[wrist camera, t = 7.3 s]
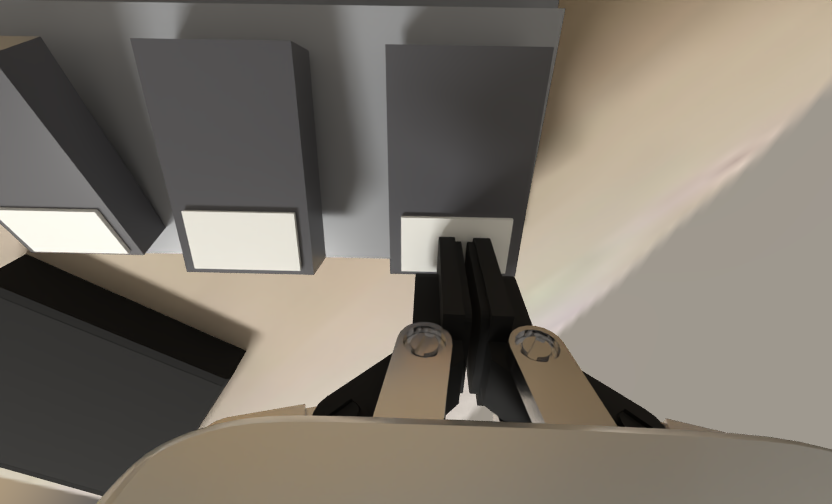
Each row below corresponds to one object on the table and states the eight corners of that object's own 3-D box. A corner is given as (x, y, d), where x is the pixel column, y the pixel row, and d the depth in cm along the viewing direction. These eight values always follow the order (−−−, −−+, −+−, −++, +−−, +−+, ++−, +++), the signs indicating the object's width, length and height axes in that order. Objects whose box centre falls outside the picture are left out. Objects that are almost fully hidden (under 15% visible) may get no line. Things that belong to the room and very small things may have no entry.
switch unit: (-104, -281, 11) (-436, -481, 7) (600, -276, 11) (714, -482, 7) (131, 227, 20) (54, 278, 16) (510, 236, 20) (532, 289, 16)
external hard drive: (248, 347, 26) (229, 380, 23) (166, 475, 36) (146, 508, 34) (32, 250, 22) (-20, 279, 19) (7, 425, 32) (-29, 459, 30)
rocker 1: (-117, 33, 10) (-196, 52, 9) (40, 36, 10) (-16, 56, 8) (62, 225, 15) (28, 255, 13) (165, 227, 15) (141, 257, 13)
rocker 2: (169, 48, 11) (125, 37, 9) (308, 50, 11) (288, 39, 9) (212, 254, 14) (184, 273, 12) (325, 257, 14) (312, 276, 12)
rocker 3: (390, 47, 11) (384, 43, 9) (536, 49, 11) (556, 46, 9) (393, 252, 14) (390, 275, 12) (505, 255, 14) (516, 278, 12)
